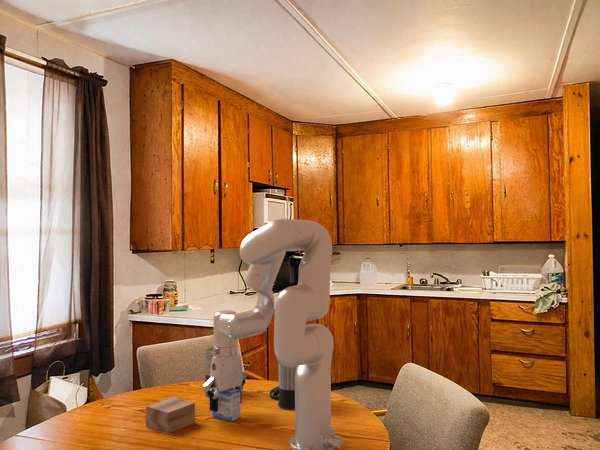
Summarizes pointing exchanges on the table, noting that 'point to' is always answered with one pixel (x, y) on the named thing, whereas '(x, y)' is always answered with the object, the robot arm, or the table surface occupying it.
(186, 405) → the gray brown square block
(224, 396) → the medicine box
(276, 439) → the table surface
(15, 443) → the table surface
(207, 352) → the coffee box
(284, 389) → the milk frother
